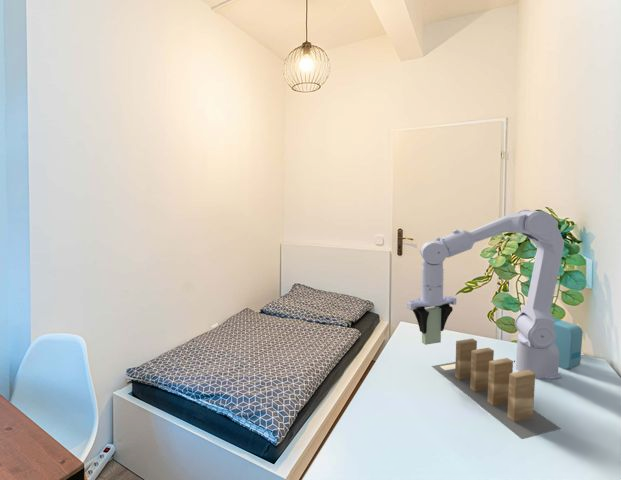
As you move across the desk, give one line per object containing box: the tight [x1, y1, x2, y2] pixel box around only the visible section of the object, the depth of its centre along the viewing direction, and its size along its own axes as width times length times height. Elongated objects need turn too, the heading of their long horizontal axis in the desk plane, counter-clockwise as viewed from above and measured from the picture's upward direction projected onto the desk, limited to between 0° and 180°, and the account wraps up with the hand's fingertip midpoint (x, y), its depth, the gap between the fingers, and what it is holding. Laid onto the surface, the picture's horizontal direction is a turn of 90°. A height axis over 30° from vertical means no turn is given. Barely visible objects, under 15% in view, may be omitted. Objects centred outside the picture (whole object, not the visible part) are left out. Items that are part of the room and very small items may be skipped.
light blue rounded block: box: [553, 317, 583, 370], centre depth 93 cm, size 12×4×12 cm, turn 21°
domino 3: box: [487, 357, 514, 406], centre depth 74 cm, size 2×5×10 cm, turn 105°
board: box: [431, 361, 562, 440], centre depth 78 cm, size 10×29×1 cm, turn 14°
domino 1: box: [455, 338, 478, 380], centre depth 84 cm, size 2×5×10 cm, turn 104°
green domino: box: [421, 306, 442, 346], centre depth 92 cm, size 2×5×10 cm, turn 104°
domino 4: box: [507, 370, 536, 422], centre depth 68 cm, size 2×5×10 cm, turn 105°
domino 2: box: [470, 347, 495, 392], centre depth 79 cm, size 2×5×10 cm, turn 105°
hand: (431, 330), depth 92 cm, fingers closed on green domino, 5 cm apart
